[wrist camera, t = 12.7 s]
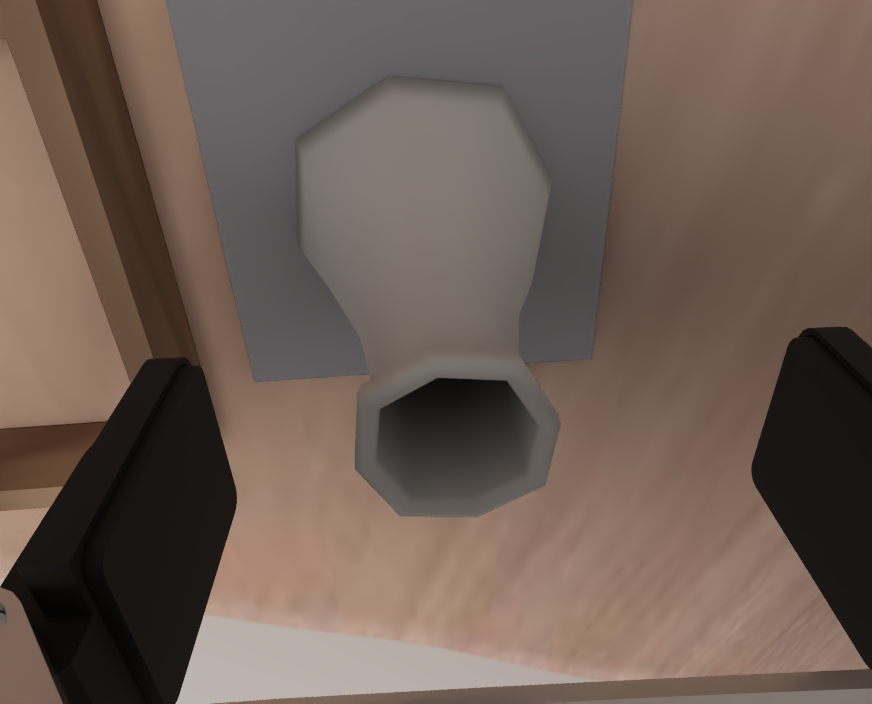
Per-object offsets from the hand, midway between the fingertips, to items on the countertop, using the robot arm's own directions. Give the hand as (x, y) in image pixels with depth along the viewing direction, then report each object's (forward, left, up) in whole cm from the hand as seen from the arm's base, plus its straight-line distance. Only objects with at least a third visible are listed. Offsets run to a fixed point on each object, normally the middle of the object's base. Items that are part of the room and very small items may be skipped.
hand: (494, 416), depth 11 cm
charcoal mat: (+1, 0, -10) cm, 10 cm away
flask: (+1, 0, -9) cm, 9 cm away
